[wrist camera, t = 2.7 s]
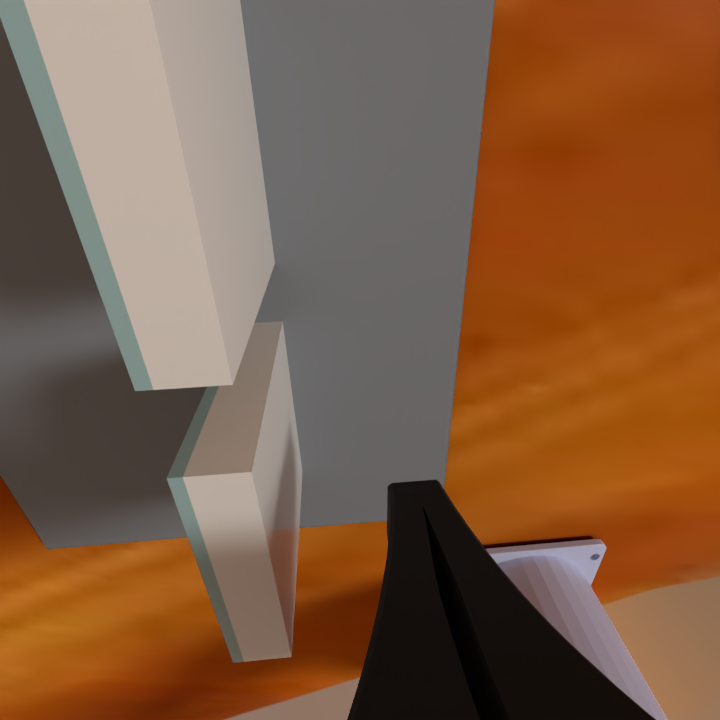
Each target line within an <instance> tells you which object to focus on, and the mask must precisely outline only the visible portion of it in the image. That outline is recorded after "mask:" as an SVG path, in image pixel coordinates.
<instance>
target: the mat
mask: <svg viewBox="0 0 720 720" xmlns="http://www.w3.org/2000/svg"><path fill="white" fill-rule="evenodd" d="M240 3H241V10H242V18H243V26H244V33H245V41H246V48H247V56H248V63H249V71H250V79H251V86H252V94H253V101H254V109H255V116H256V124H257V131H258V139H259V147H260V154H261V162H262V169H263V177H264V184H265V192H266V200H267V207H268V215H269V222H270V230H271V237H272V245H273V252H274V260H275V264H274V267H273V270H272V273H271V276H270V279H269V282H268V285H267V288H266V290H265V293H264V296H263V299H262V302H261V305H260V308H259V311H258V314H257V316H256V319H255V322H254V323H261V322H278V321H283V328H284V336H285V343H286V351H287V358H288V366H289V373H290V381H291V389H292V396H293V404H294V411H295V419H296V426H297V434H298V442H299V449H300V457H301V464H302V472H303V473H302V490H301V507H300V524H299V528H305V527H317V526H329V525H341V524H353V523H364V522H376V521H387V489H388V486H389V485H390V484H391V483H397V482H410V481H423V480H437V481H439V482H440V484H441V485H442V487H443V489H444V482H445V473H446V463H447V454H448V444H449V434H450V425H451V415H452V406H453V396H454V386H455V377H456V367H457V358H458V348H459V338H460V329H461V319H462V310H463V300H464V291H465V281H466V271H467V262H468V252H469V243H470V233H471V223H472V214H473V204H474V195H475V185H476V175H477V166H478V156H479V147H480V137H481V127H482V118H483V108H484V99H485V89H486V79H487V70H488V60H489V51H490V41H491V32H492V22H493V12H494V3H495V0H240ZM206 388H207V387H192V388H177V389H161V390H146V391H135V390H134V387H133V384H132V381H131V379H130V376H129V373H128V370H127V367H126V365H125V362H124V359H123V356H122V354H121V351H120V348H119V345H118V343H117V340H116V337H115V334H114V331H113V329H112V326H111V323H110V320H109V318H108V315H107V312H106V309H105V306H104V304H103V301H102V298H101V295H100V293H99V290H98V287H97V284H96V282H95V279H94V276H93V273H92V270H91V268H90V265H89V262H88V259H87V257H86V254H85V251H84V248H83V246H82V243H81V240H80V237H79V234H78V232H77V229H76V226H75V223H74V221H73V218H72V215H71V212H70V209H69V207H68V204H67V201H66V198H65V196H64V193H63V190H62V187H61V185H60V182H59V179H58V176H57V173H56V171H55V168H54V165H53V162H52V160H51V157H50V154H49V151H48V149H47V146H46V143H45V140H44V137H43V135H42V132H41V129H40V126H39V124H38V121H37V118H36V115H35V112H34V110H33V107H32V104H31V101H30V99H29V96H28V93H27V90H26V88H25V85H24V82H23V79H22V76H21V74H20V71H19V68H18V65H17V63H16V60H15V57H14V54H13V52H12V49H11V46H10V43H9V40H8V38H7V35H6V32H5V29H4V27H3V24H2V21H1V18H0V476H1V477H2V479H3V480H4V482H5V484H6V485H7V487H8V488H9V490H10V491H11V493H12V495H13V496H14V498H15V499H16V501H17V502H18V504H19V506H20V507H21V509H22V510H23V512H24V513H25V515H26V517H27V518H28V520H29V521H30V523H31V524H32V526H33V528H34V529H35V531H36V532H37V534H38V536H39V537H40V539H41V540H42V542H43V543H44V545H45V547H46V548H47V549H54V548H66V547H78V546H90V545H102V544H114V543H126V542H138V541H150V540H162V539H173V538H185V537H187V534H186V531H185V528H184V525H183V523H182V520H181V517H180V514H179V512H178V509H177V506H176V503H175V500H174V498H173V495H172V492H171V489H170V487H169V484H168V481H167V476H168V474H169V472H170V470H171V467H172V465H173V463H174V460H175V458H176V456H177V454H178V451H179V449H180V447H181V445H182V442H183V440H184V438H185V436H186V433H187V431H188V429H189V427H190V424H191V422H192V420H193V417H194V415H195V413H196V411H197V408H198V406H199V404H200V402H201V399H202V397H203V395H204V393H205V390H206Z"/></svg>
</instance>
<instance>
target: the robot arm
mask: <svg viewBox="0 0 720 720" xmlns="http://www.w3.org/2000/svg"><path fill="white" fill-rule="evenodd" d="M387 536H388V552H387V560H386V566H385V572H384V578H383V584H382V590H381V595H380V600H379V605H378V610H377V614H376V619H375V623H374V627H373V632H372V636H371V640H370V644H369V647H368V651H367V655H366V659H365V663H364V666H363V670H362V673H361V677H360V680H359V684H358V688H357V691H356V694H355V697H354V700H353V703H352V706H351V710H350V713H349V716H348V719H347V720H668V719H667V717H666V715H665V714H664V712H663V710H662V709H661V707H660V705H659V704H658V702H657V700H656V698H655V696H654V695H653V693H652V691H651V690H650V688H649V686H648V684H647V683H646V681H645V679H644V677H643V676H642V674H641V672H640V671H639V669H638V667H637V665H636V664H635V662H634V660H633V658H632V657H631V655H630V653H629V652H628V650H627V648H626V646H625V645H624V643H623V641H622V640H621V638H620V636H619V634H618V633H617V631H616V629H615V627H614V626H613V624H612V622H611V620H610V619H609V617H608V615H607V614H606V612H605V610H604V608H603V607H602V605H601V603H600V602H599V600H598V598H597V596H596V595H595V593H594V591H593V589H592V588H591V584H592V581H593V579H594V577H595V574H596V572H597V570H598V567H599V565H600V563H601V560H602V558H603V555H604V553H605V551H606V546H605V544H604V543H603V541H602V540H600V539H589V540H577V541H566V542H555V543H543V544H532V545H521V546H510V547H498V548H487V549H485V548H484V546H483V545H482V544H481V542H480V541H479V540H478V539H477V537H476V536H475V535H474V533H473V532H472V531H471V529H470V528H469V526H468V525H467V524H466V522H465V521H464V519H463V518H462V516H461V515H460V513H459V512H458V511H457V509H456V508H455V506H454V505H453V503H452V502H451V500H450V498H449V497H448V495H447V494H446V492H445V490H444V489H443V487H442V485H441V484H440V482H439V481H437V480H423V481H410V482H397V483H391V484H390V485H389V486H388V489H387Z"/></svg>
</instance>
